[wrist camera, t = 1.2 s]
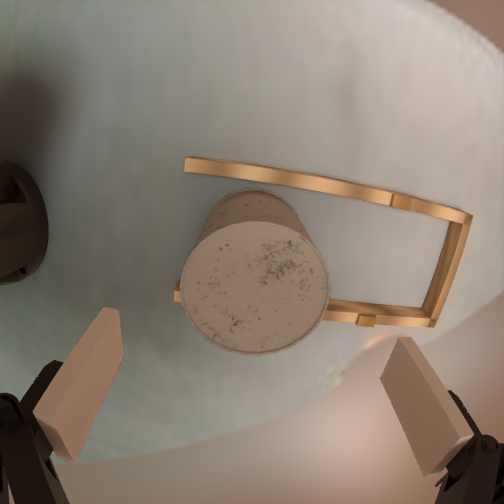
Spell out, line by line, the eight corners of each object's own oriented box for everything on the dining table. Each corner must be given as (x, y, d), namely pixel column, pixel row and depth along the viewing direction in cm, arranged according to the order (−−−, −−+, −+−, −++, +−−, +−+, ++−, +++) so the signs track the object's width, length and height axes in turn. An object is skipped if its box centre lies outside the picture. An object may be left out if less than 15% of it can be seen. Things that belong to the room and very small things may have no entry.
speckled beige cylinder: (311, 266, 32) (341, 334, 21) (223, 290, 33) (210, 367, 22) (287, 176, 29) (311, 201, 17) (191, 205, 30) (156, 248, 18)
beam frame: (178, 289, 33) (172, 304, 30) (190, 156, 28) (184, 158, 25) (425, 317, 35) (436, 330, 32) (460, 210, 30) (476, 216, 27)
